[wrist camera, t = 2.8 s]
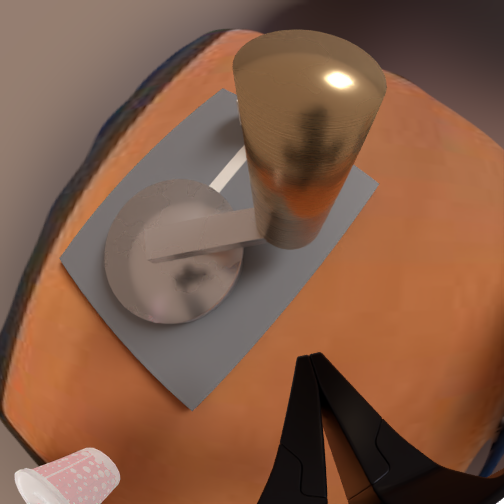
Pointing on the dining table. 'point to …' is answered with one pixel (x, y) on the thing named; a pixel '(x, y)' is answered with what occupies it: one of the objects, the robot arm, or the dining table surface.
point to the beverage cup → (70, 479)
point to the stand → (254, 266)
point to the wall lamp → (260, 173)
